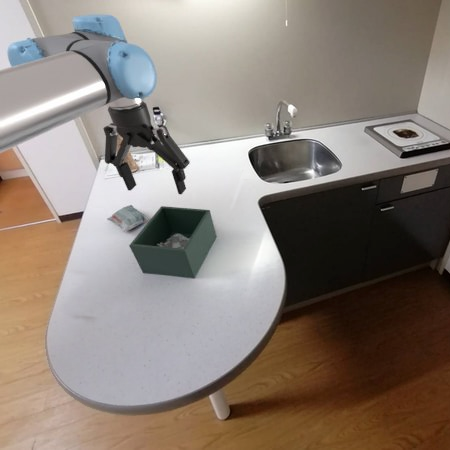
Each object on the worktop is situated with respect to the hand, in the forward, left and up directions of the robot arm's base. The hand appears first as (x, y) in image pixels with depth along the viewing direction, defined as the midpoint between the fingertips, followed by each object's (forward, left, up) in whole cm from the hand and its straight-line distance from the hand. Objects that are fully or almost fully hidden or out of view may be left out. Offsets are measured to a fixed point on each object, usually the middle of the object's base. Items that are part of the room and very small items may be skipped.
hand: (157, 189), depth 78 cm
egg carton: (0, 0, -23) cm, 23 cm away
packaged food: (-24, +11, -24) cm, 35 cm away
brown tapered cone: (-44, +45, -24) cm, 67 cm away
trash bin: (0, 0, -23) cm, 23 cm away
